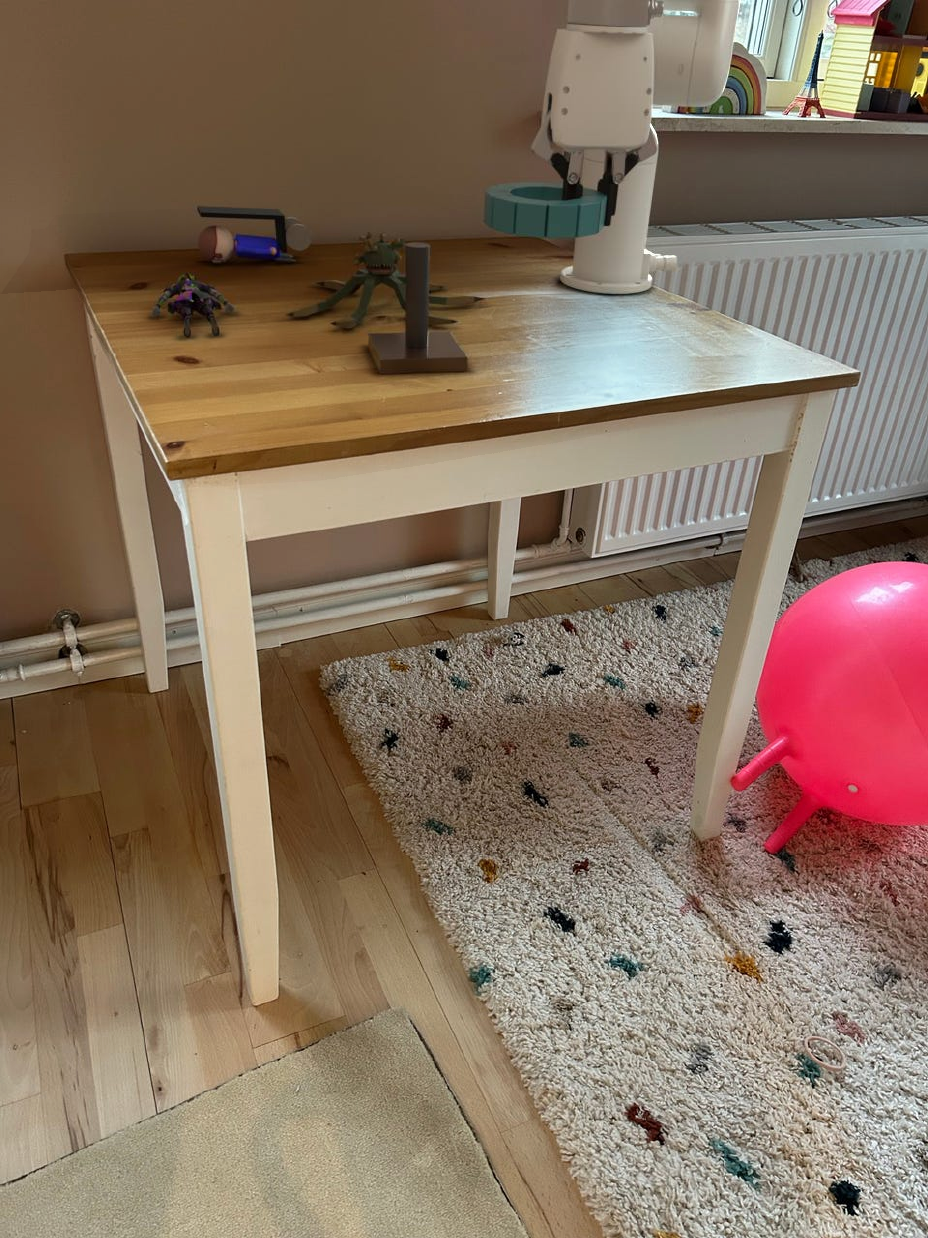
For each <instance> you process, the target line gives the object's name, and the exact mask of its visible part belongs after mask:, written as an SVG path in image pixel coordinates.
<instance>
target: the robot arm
mask: <svg viewBox="0 0 928 1238" xmlns="http://www.w3.org/2000/svg"><path fill="white" fill-rule="evenodd" d="M740 4H741V0H568V2H567V13H566V14H567V15H566V27H565V28H557V30H556V33H555V37H554V41H553V45H552V49H551V54H550V59H549V63H548V70H547V77H546V82H545V90H544V97H543V103H542V110H541V111H542V112H541V121H540V128H539V129H538V131H537V134H536V135H535V138H534V139H533V141H532V143H531V146H530V151H531V153H533V154H534V155H535V156H537V157H539V158H541V159H543V160H544V161H545V162H547V163H549V164H550V165H551V167H552V168H553V169H554V171H555V172H557V174H558V175H559V178H560V179H562V181H563V182H562V184H563V190H562V201H566V200H573V199H579V198H581V197H582V195H583V187H585V188H589V189H594V190H597V191H599V192H601V193H603V194H604V195H606V196H607V203H606V212H605V221H604V228H603V229H602V230H601V231H600V232H599V233H597V234H595V235H589V236H584V237H579V238H577V237H575V238H574V239H575V240H574V250H573V260H572V265H571V266H567V267H564V268H563V269H561V271H560V277H559V279H560V282H561V283H563V284H564V285H565V286H567V287H570V288H572V289H577V290H581V291H585V292H590V293H598V294H608V295H609V294H610V295H628V294H638V293H642V292H646V291H647V290H649V289H651V287H652V285H653V277H652V276H651V275H650V274H654V273H655V271H662V272H666V271H667V272H675V271H676V270H677V266H678V258H677V256H676V255H661V254H660V253H652V252H651V251H649V250H647V249H646V244H647V237H648V230H649V221H650V215H651V207H652V201H653V193H654V186H655V179H656V173H657V165H658V158H659V157H658V156H659V140H658V136H657V133H656V130H655V129H654V127H653V126H652V125H653V124H652V117H653V106H654V105H655V106H669V107H670V106H671V107H686V108H687V107H688V108H689V107H690V108H704V107H710V106H712V105H713V104H715V103H716V102H717V101H718V100H719V99H720V98H721V96H722V95H723V93H724V90H725V88H726V84H727V82H728V77H729V73H730V69H731V68H730V67H731V62H732V57H733V50H734V42H735V36H736V30H737V23H738V17H739V10H740ZM664 12H679V13H680V12H681V13H692V14H695V15H681V14H680V15H678V14H666V13H664ZM551 143H552V144H554V145H555V146H557V147H558V148H561V149H562V152H561V153H560V152H558V151H557V150H556V149H554V148H552V146H551ZM581 167H582V168H581ZM581 169H582V170H581ZM580 174H581V176H580Z"/></svg>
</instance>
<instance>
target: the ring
mask: <svg viewBox="0 0 928 1238" xmlns="http://www.w3.org/2000/svg"><path fill="white" fill-rule="evenodd" d="M562 190H563V183H557V182H556V183H555V182H540V181H539V182H538V181H537V182H535V181H534V182H533V181H532V182H531V181H529V182H527V181H525V182H524V181H523V182H522V181H521V182H520V181H519V182H518V181H517V182H509V183H508V182H507V183H503V184H502V183H501V184H495V185H491V186H490V187H488V188H487V189H485V190H484V206H483V207H484V208H483V223H484V224H485V225H486V226H488V228H489V229H492V230H494V231H496V232H497V231H498V232H500V233H501V232H502V233H504V234H508V235H515V236H518V237H521V236H522V237H527V238H528V237H529V238H536V239H537V238H538V239H544V238H546V239H576V237H577V238H579V237H584V236H589V235H595V234H597V233H599V232H600V231H601V230H602V229H603V228H604V221H605V212H606V203H607V196H606V195H604V194H603V193H601V192H599V191H597V190H594V189H589V188H585V187H583V195H582V197H581V198H579V199H573V200H566V201H562Z"/></svg>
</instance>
